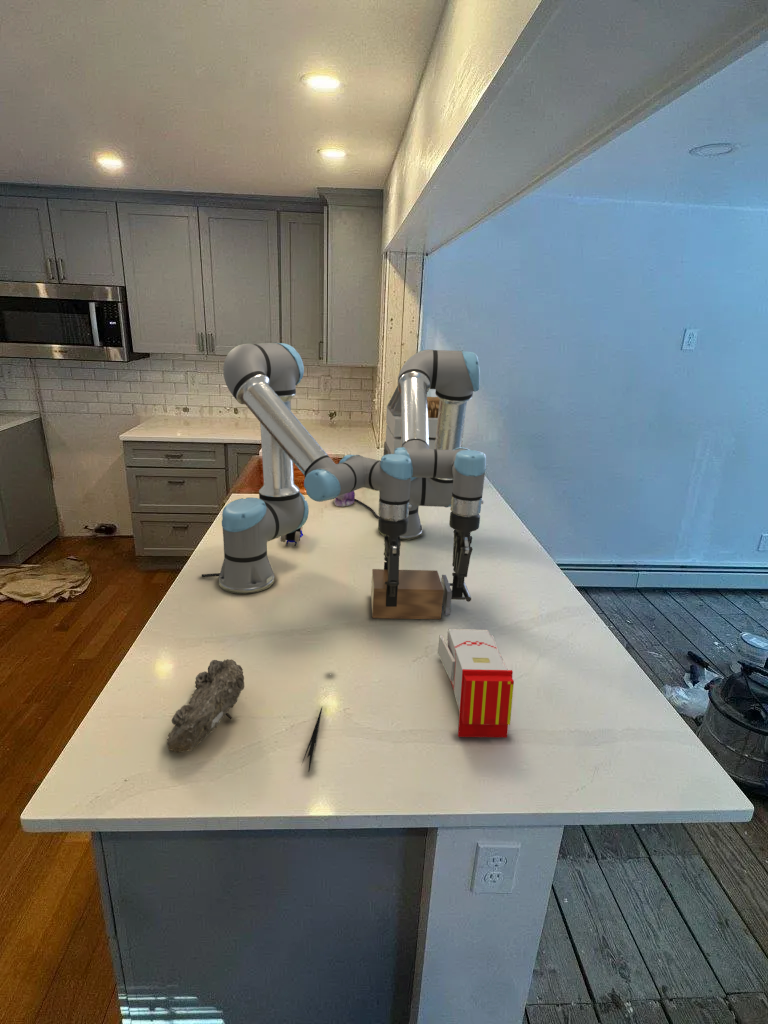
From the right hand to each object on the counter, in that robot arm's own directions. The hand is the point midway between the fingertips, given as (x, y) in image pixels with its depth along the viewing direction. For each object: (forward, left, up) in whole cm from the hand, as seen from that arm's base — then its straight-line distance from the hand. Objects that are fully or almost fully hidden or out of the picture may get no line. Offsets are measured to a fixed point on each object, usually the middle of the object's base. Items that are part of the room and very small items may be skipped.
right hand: (456, 596), depth 150 cm
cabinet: (-8, -11, -4) cm, 14 cm away
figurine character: (-64, -10, -4) cm, 65 cm away
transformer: (-101, +84, -4) cm, 131 cm away
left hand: (-11, -14, 0) cm, 18 cm away
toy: (+26, -24, -4) cm, 35 cm away
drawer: (-5, -6, -3) cm, 9 cm away
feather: (+14, -53, -4) cm, 55 cm away
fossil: (+1, -69, -4) cm, 69 cm away
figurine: (-85, +27, -4) cm, 89 cm away
